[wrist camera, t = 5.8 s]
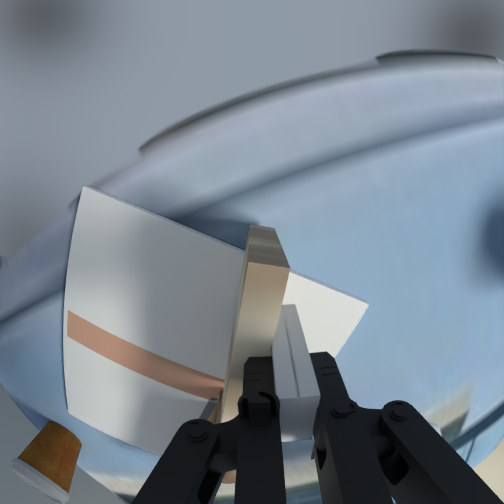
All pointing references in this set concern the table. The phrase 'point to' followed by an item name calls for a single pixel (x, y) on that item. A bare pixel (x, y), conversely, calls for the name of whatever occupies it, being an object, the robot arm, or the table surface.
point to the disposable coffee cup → (49, 462)
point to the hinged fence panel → (254, 310)
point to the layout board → (163, 320)
